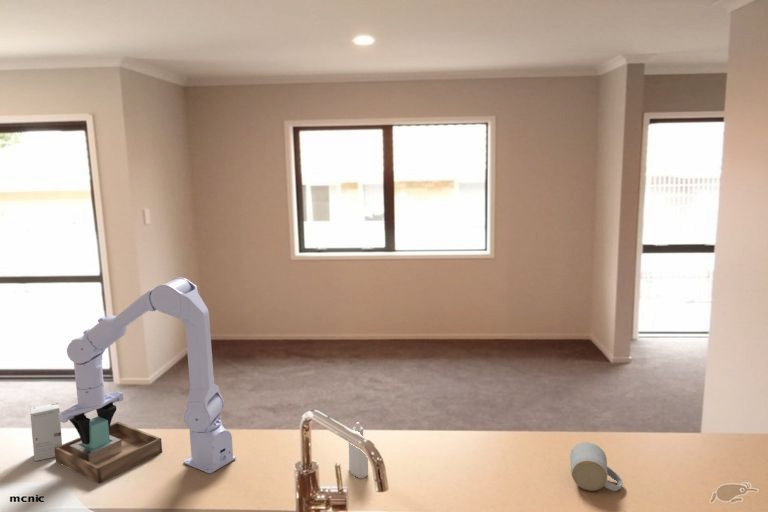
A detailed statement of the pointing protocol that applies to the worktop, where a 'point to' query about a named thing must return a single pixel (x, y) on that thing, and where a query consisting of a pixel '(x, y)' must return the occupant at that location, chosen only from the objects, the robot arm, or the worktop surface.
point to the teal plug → (98, 433)
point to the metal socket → (97, 450)
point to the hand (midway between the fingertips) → (95, 439)
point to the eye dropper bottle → (358, 458)
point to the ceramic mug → (592, 468)
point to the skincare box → (45, 430)
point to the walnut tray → (133, 452)
